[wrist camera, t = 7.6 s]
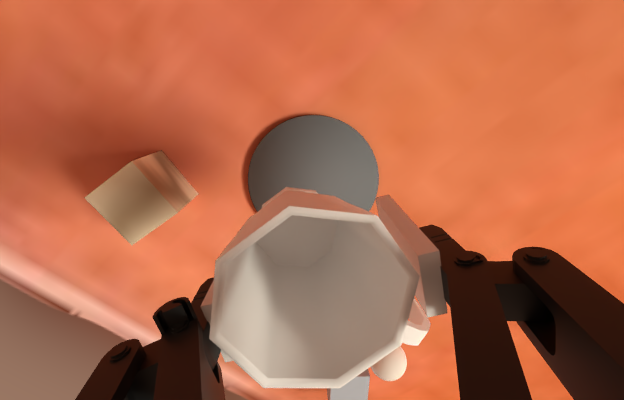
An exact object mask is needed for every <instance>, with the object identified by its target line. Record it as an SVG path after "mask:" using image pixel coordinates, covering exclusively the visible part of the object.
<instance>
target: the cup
mask: <svg viewBox="0 0 624 400" xmlns="http://www.w3.org/2000/svg"><path fill="white" fill-rule="evenodd" d="M419 278H420V276H419V274H418V273H417V272H416V270H415V269H414V267H413V266H412V264H411V263H410V262H409V260H408V259H407V257H406V256H405V254H404V253H403V252H402V250H401V249H400V247H399V246H398V244H397V243H396V242H395V240H394V239H393V237H392V236H391V234H390V233H389V232H388V230H387V229H386V227H385V226H384V224H383V223H382V222H381V220H380V219H379V217H378V216H377V215H375V214H373V213H371V212H368V211H366V210H364V209H362V208H359V207H357V206H354V205H352V204H349V203H347V202H345V201H343V200H341V199H339V198H337V197H335V196H331V195H323V194H318V193H317V192H316V191H315V190H307V189H299V188H290V187H285V188H284V189H283V190H281V191H280V192H279V193H277V194H276V195H275V196H273V197H272V198H271V199H269V200H268V201H267V202H265V203H264V204H263V205H262V209H261V210H259V211H258V212H257V213H255V214H254V215H253V216H251V217H250V218H249V219H248V220H247V221H246V222H245V224H244V225H243V226H242V228H241V229H240V231H239V232H238V233H237V235H236V236H235V237H234V238H233V239H232V241H231V242H230V243H229V244H228V245H227V247H226V248H225V249H224V251H223V252H222V253H221V254H220V256H219V257H218V258H217V260H216V262H215V274H214V287H213V299H212V311H211V323H210V335H209V339H210V340H211V341H212V342H213V343H214V344H215V345H217V346H218V347H219V348H220V349H221V350H222V351H223V352H224V353H225V354H227V355H228V356H229V357H230V358H231V359H232V360H233V361H234V362H235V363H236V364H238V365H239V366H240V367H241V368H242V369H243V370H244V371H245V372H246V373H247V374H249V375H250V376H251V377H252V378H253V379H254V380H255V381H256V382H257V383H258V384H260V385H261V386H262V387H263V388H341V387H342V386H344V385H345V384H346V383H348V382H349V381H351V380H352V379H354V378H355V377H356V376H358V375H359V374H361V373H362V372H364V371H365V370H366V369H368V368H369V367H371V366H372V365H374V364H375V363H376V362H378V361H379V360H381V359H382V358H384V357H385V356H386V355H388V354H389V353H391V352H392V351H394V350H395V349H396V348H398V347H399V346H401V344H402V343H405V344H408V345H416V346H418V345H419V343H420V342H421V341H422V339H423V338H424V337H425V335H426V334H427V333H428V331H429V328H430V325H431V323H430V322H429V320H428V318H427V316H426V314H425V313H424V311H423V309H422V308H421V306H420V305H419V304H418V302H417V301H416V300H415V298H414V296H415V293H416V289H417V285H418V281H419ZM408 318H409V320H410V321H408Z"/></svg>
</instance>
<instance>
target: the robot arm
mask: <svg viewBox="0 0 624 400" xmlns="http://www.w3.org/2000/svg"><path fill="white" fill-rule="evenodd" d="M375 199H376V204H377V209H378V214H379V219H380V220H381V222H382V223H383V224H384V226H385V227H386V229H387V230H388V232H389V233H390V234H391V236H392V237H393V239H394V240H395V242H396V243H397V244H398V246H399V247H400V249H401V250H402V252H403V253H404V254H405V256H406V257H407V259H408V260H409V262H410V263H411V264H412V266H413V267H414V269H415V270H416V272H417V273H418V274H419V276H420V278H419V281H418V285H417V289H416V293H415V296H416V298H417V300H418V302H419V303H420V305H421V307H422V309H423V310H424V312H425V314H426V316H427V317H432V316H436V315H441V314H445V313H447V306H446V302H447V303H448V305H449V306H450V307H451V317H452V326H453V335H454V345H455V354H456V363H457V373H458V382H459V391H460V400H532V398H531V395H530V392H529V389H528V386H527V382H526V379H525V376H524V373H523V370H522V367H521V364H520V361H519V358H518V355H517V352H516V348H515V345H514V342H513V339H512V336H511V333H510V330H509V327H508V324H507V321H517V323H518V325H519V326H520V327H521V329H522V330H523V331H524V333H525V334H526V335H527V337H528V338H529V339H530V341H531V342H532V344H533V345H534V346H535V348H536V349H537V350H538V352H539V353H540V354H541V356H542V357H543V358H544V360H545V361H546V362H547V364H548V365H549V366H550V368H551V369H552V371H553V372H554V373H555V375H556V376H557V377H558V379H559V380H560V381H561V383H562V384H563V385H564V387H565V388H566V389H567V391H568V392H569V393H570V395H571V396H572V397H573V399H574V400H624V304H623V303H622V302H621V301H619V300H618V299H617V298H615V297H614V296H613V295H612V294H610V293H609V292H608V291H606V290H605V289H604V288H602V287H601V286H600V285H598V284H597V283H596V282H595V281H593V280H592V279H591V278H589V277H588V276H587V275H585V274H584V273H583V272H581V271H580V270H579V269H578V268H576V267H575V266H574V265H572V264H571V263H570V262H568V261H567V260H566V259H564V258H563V257H562V256H561V255H559V254H558V253H556V252H554V251H552V250H549V249H545V248H541V247H525V248H521V249H518V250H516V251H515V252H514V253H513V256H512V260H513V261H498V262H495V261H487V259H486V258H485V257H484V256H483V255H481V254H480V253H477V252H473V251H465V250H464V249H463V248H462V247H461V246H460V245H459V244H458V243H457V242H456V241H455V240H454V239H452V238H451V237H450V236H449V235H448V234H447V233H446V232H445V231H444V230H443V229H442V228H440V227H437V226H434V225H429V226H424V227H420V228H418V226H417V225H416V224H415V223H414V222H413V221H412V220H411V219H410V218H409V217H408V215H407V214H406V213H405V212H404V211H403V210H402V209H401V208H400V207H399V205H398V204H397V203H396V202H395V201H394V200H393V199H392V198H391V197H390V196H389V195H385V196H381V197H377V198H375ZM213 287H214V278H210V279H208V280H206V281H205V282H204V283H203V284H202V285H201V286H200V288H199V290H198V292H197V295H195V297H194V299H193V301H192V302H191V303H190V301H189V299H188V298H186V297H181V298H176V299H173V300H171V301H169V302H167V303H165V304H164V305H163V306H161V307H160V308H159V309H158V310H157V311H156V312H155V313H154V315H153V319H154V321H155V323H156V325H157V327H158V329H159V331H160V332H161V334H162V337H161V339H160V340H158V341H155V342H153V343H151V344H149V345H146V346H144V347H142V345H141V343H140V342H139V340H137V339H131V340H127V341H125V342H122V343H120V344H118V345H116V346H115V347H113V348H112V349H111V350H110V351H109V352H108V353H107V354H106V355H105V356H104V357H103V358H102V359H101V361H100V363H99V364H98V366H97V367H96V369H95V370H94V372H93V373H92V375H91V376H90V378H89V379H88V381H87V382H86V384H85V385H84V387H83V389H82V390H81V392H80V393H79V395H78V396H77V398H76V399H75V400H225V394H224V386H223V379H222V372H221V368H220V366H219V364H218V362H217V360H218V357H219V354H220V351H221V354H222V356H223V358H224V360H225V362H229V361H233V360H232V359H231V358H230V357H229V356H228V355H227V354H225V353H224V352H223V351H222V350H221V349H220V348H219V347H218V346H217V345H215V344H214V343H213V342H212V341H211V340H210V339H209V335H210V323H211V311H212V299H213Z"/></svg>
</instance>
